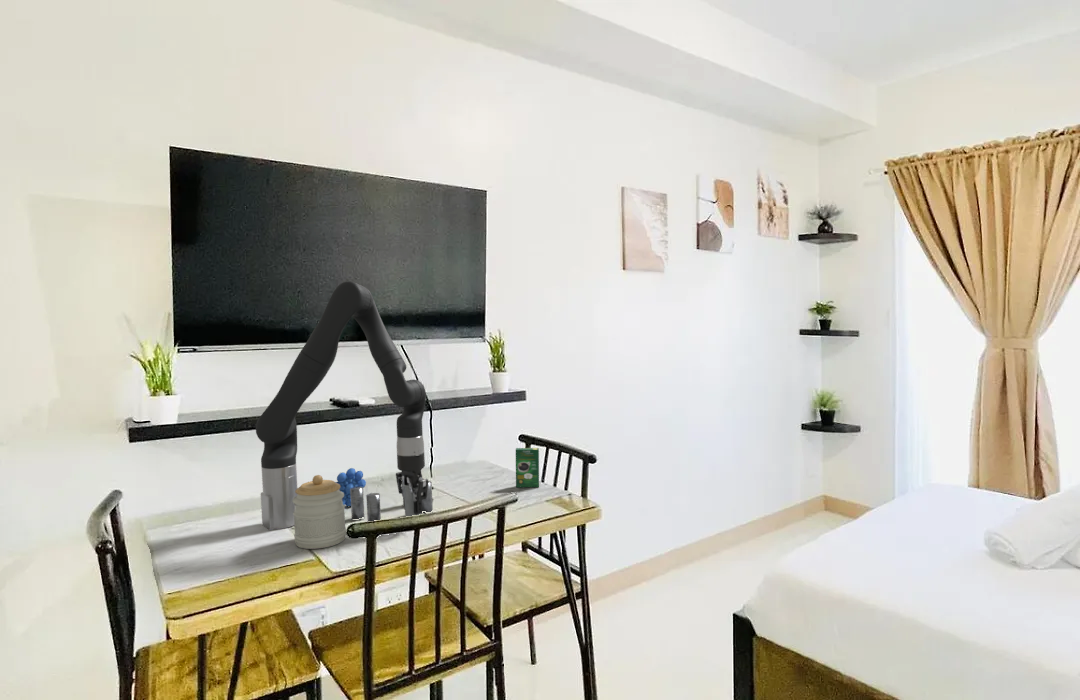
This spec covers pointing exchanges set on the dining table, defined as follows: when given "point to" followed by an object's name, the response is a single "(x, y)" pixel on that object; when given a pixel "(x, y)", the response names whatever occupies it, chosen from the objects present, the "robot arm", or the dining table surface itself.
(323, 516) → the jar
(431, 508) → the spacer posts
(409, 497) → the hollow grey tube
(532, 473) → the coffee box
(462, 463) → the dining table surface
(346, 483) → the grapes
